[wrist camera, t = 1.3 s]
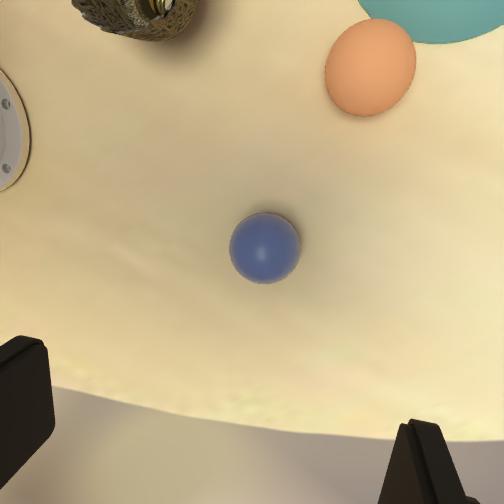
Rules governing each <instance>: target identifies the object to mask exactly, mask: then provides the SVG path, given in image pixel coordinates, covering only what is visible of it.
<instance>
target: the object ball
mask: <svg viewBox="0 0 504 504" xmlns="http://www.w3.org/2000/svg"><path fill="white" fill-rule="evenodd" d="M415 68H416V52H415V48H414V45H413V42H412V40H411V38H410V36H409V35H408V33H407V32H406V31H405V30H404V29H403V28H402V27H401V26H399V25H398V24H396V23H394V22H392V21H389V20H386V19H369V20H365V21H361V22H359V23H357V24H355V25H353V26H352V27H350V28H349V29H347V30H346V31H345V32H344V33H343V34H342V35H341V36H340V37H339V38H338V39H337V40H336V42H335V43H334V45H333V47H332V48H331V51H330V53H329V55H328V58H327V62H326V67H325V81H326V86H327V89H328V92H329V94H330V96H331V98H332V99H333V101H334V102H335V103H336V104H337V105H338V106H339V107H340V108H341V109H343V110H344V111H346V112H348V113H351V114H354V115H359V116H369V115H375V114H379V113H381V112H384V111H386V110H387V109H389V108H391V107H392V106H393V105H395V104H396V103H397V102H398V101H399V100H400V99H401V98H402V97H403V96H404V94H405V93H406V92H407V90H408V88H409V87H410V85H411V82H412V80H413V77H414V74H415Z"/></svg>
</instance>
